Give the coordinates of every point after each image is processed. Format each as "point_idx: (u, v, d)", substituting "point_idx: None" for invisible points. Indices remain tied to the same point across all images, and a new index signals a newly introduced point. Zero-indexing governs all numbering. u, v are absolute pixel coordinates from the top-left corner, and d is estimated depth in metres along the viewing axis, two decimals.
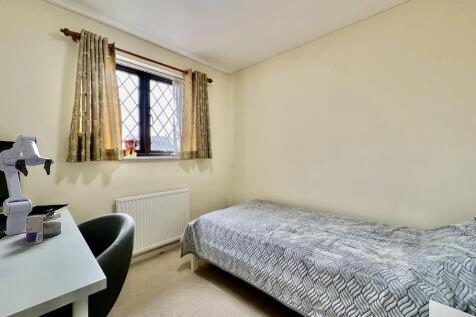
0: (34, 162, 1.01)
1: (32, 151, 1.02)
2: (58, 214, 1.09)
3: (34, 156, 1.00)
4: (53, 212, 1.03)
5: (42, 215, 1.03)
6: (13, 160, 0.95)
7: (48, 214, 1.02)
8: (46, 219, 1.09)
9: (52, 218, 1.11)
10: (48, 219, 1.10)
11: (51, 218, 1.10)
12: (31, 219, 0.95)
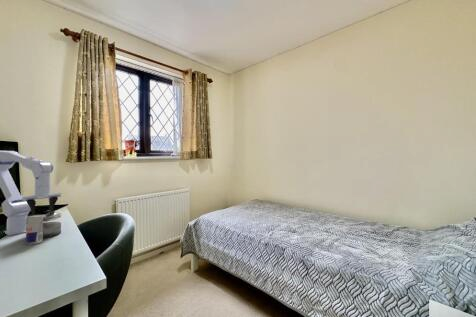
0: (42, 198, 1.10)
1: (44, 189, 1.08)
2: (58, 214, 1.09)
3: (44, 196, 1.08)
4: (53, 212, 1.03)
5: (42, 215, 1.03)
6: (24, 199, 1.04)
7: (48, 214, 1.02)
8: (46, 219, 1.09)
9: (52, 218, 1.11)
10: (48, 219, 1.10)
11: (51, 218, 1.10)
12: (31, 219, 0.95)
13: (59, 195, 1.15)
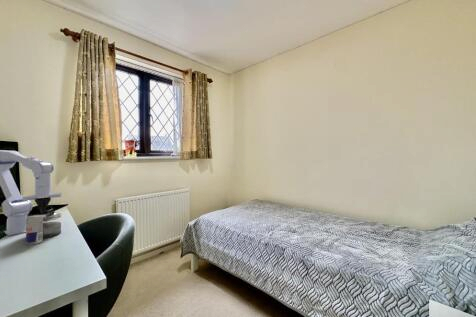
0: (43, 198, 1.09)
1: (44, 189, 1.08)
2: (58, 214, 1.09)
3: (44, 196, 1.08)
4: (53, 212, 1.03)
5: (42, 215, 1.03)
6: (24, 199, 1.03)
7: (48, 214, 1.02)
8: (46, 219, 1.09)
9: (52, 218, 1.11)
10: (48, 219, 1.10)
11: (51, 218, 1.10)
12: (31, 219, 0.95)
13: (59, 195, 1.15)
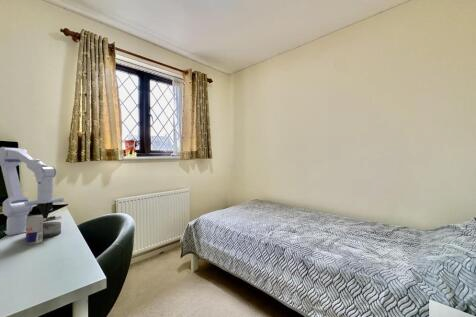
0: (45, 203, 1.07)
1: (47, 194, 1.06)
2: (58, 217, 1.09)
3: (46, 201, 1.06)
4: (54, 217, 1.02)
5: None
6: (26, 204, 1.01)
7: (48, 219, 1.01)
8: (46, 221, 1.09)
9: (52, 220, 1.11)
10: None
11: (51, 220, 1.10)
12: (31, 219, 0.95)
13: (62, 200, 1.13)
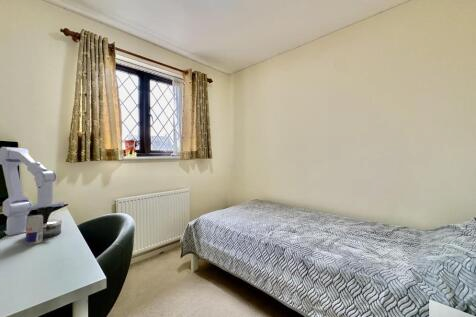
0: (45, 208, 1.07)
1: (47, 198, 1.06)
2: (59, 223, 1.08)
3: (46, 206, 1.06)
4: (54, 227, 1.02)
5: (43, 226, 1.02)
6: (26, 209, 1.01)
7: (49, 228, 1.01)
8: None
9: None
10: None
11: None
12: (31, 219, 0.95)
13: (62, 204, 1.12)
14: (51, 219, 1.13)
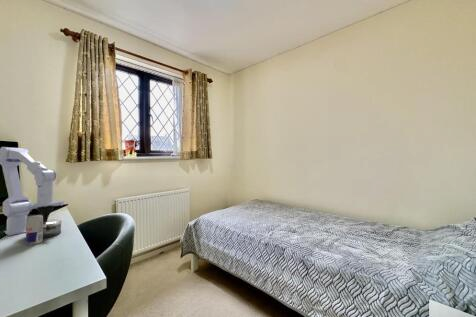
0: (45, 207, 1.07)
1: (46, 197, 1.06)
2: (59, 223, 1.08)
3: (46, 205, 1.06)
4: (54, 227, 1.02)
5: (43, 226, 1.02)
6: (26, 208, 1.01)
7: (49, 228, 1.01)
8: None
9: None
10: None
11: None
12: (31, 219, 0.95)
13: (62, 203, 1.13)
14: (51, 219, 1.13)
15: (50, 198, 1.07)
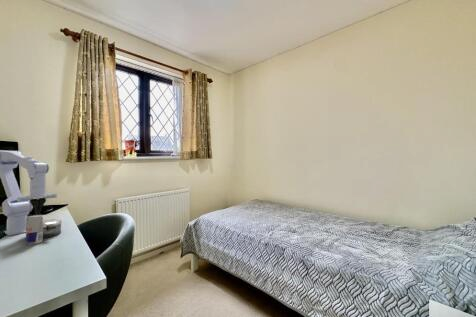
0: (38, 199, 1.07)
1: (39, 189, 1.06)
2: (59, 223, 1.08)
3: None
4: (54, 227, 1.02)
5: (43, 226, 1.02)
6: (19, 199, 1.01)
7: (49, 228, 1.01)
8: None
9: None
10: None
11: None
12: (31, 219, 0.95)
13: (55, 196, 1.13)
14: (51, 219, 1.13)
15: (43, 190, 1.08)
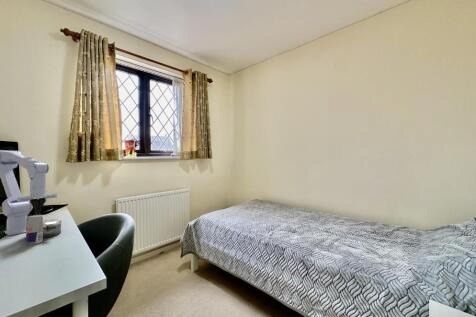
0: (38, 199, 1.07)
1: (39, 189, 1.06)
2: (59, 223, 1.08)
3: None
4: (54, 227, 1.02)
5: (43, 226, 1.02)
6: (19, 199, 1.01)
7: (49, 228, 1.01)
8: None
9: None
10: None
11: None
12: (31, 219, 0.95)
13: (55, 196, 1.13)
14: (51, 219, 1.13)
15: (43, 190, 1.08)
